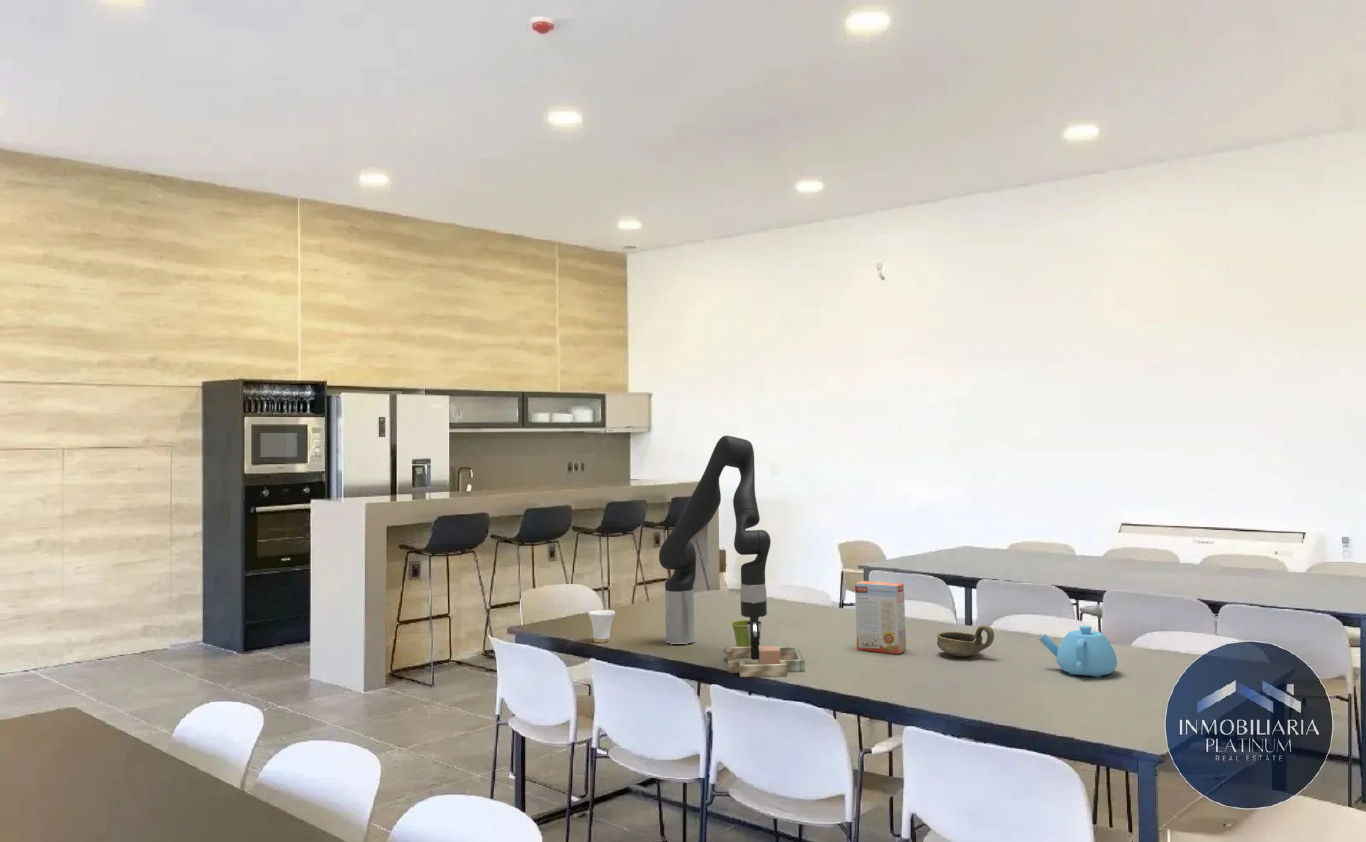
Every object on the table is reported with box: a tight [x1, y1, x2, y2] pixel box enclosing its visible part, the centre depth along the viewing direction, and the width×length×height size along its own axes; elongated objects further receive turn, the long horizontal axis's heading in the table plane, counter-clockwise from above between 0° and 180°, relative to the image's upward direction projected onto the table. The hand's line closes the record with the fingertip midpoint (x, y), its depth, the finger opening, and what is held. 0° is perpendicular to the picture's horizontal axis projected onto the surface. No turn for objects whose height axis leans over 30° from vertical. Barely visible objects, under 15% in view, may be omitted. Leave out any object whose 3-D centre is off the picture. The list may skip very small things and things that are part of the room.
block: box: [757, 645, 780, 664], centre depth 284 cm, size 6×6×5 cm
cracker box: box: [854, 580, 907, 655], centre depth 300 cm, size 14×6×21 cm, turn 53°
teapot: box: [1038, 625, 1118, 678], centre depth 268 cm, size 20×20×13 cm
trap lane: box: [726, 645, 806, 678], centre depth 284 cm, size 22×25×4 cm
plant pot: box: [730, 619, 751, 647], centre depth 305 cm, size 9×9×9 cm
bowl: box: [936, 624, 995, 658], centre depth 290 cm, size 14×18×10 cm
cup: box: [587, 609, 616, 639], centre depth 324 cm, size 9×9×10 cm
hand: (754, 659), depth 283 cm, fingers closed
